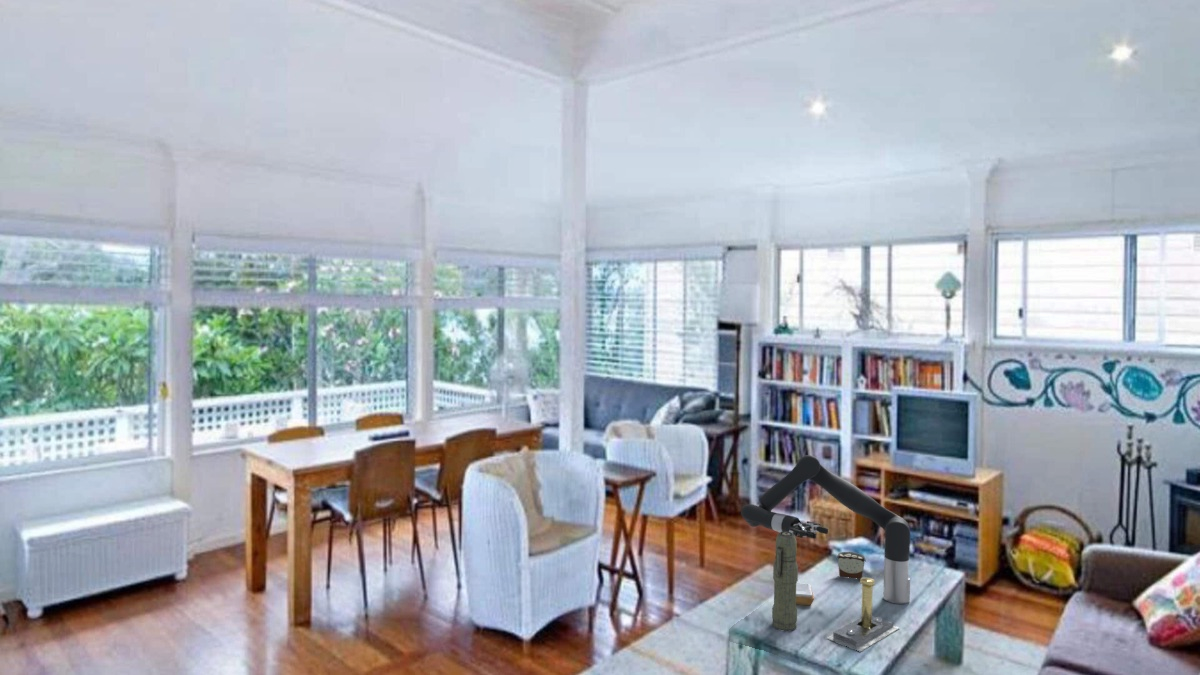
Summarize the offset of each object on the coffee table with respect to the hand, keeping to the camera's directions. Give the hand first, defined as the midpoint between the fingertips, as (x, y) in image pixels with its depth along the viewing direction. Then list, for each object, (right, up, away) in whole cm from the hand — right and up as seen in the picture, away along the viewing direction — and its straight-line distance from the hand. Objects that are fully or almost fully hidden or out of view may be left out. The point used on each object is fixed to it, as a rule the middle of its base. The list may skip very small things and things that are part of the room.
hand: (821, 533), depth 283 cm
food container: (+25, -29, +39) cm, 55 cm away
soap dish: (-5, -31, +13) cm, 34 cm away
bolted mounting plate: (+10, -32, -17) cm, 38 cm away
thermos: (-17, -32, -11) cm, 38 cm away
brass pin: (+12, -31, -16) cm, 37 cm away
